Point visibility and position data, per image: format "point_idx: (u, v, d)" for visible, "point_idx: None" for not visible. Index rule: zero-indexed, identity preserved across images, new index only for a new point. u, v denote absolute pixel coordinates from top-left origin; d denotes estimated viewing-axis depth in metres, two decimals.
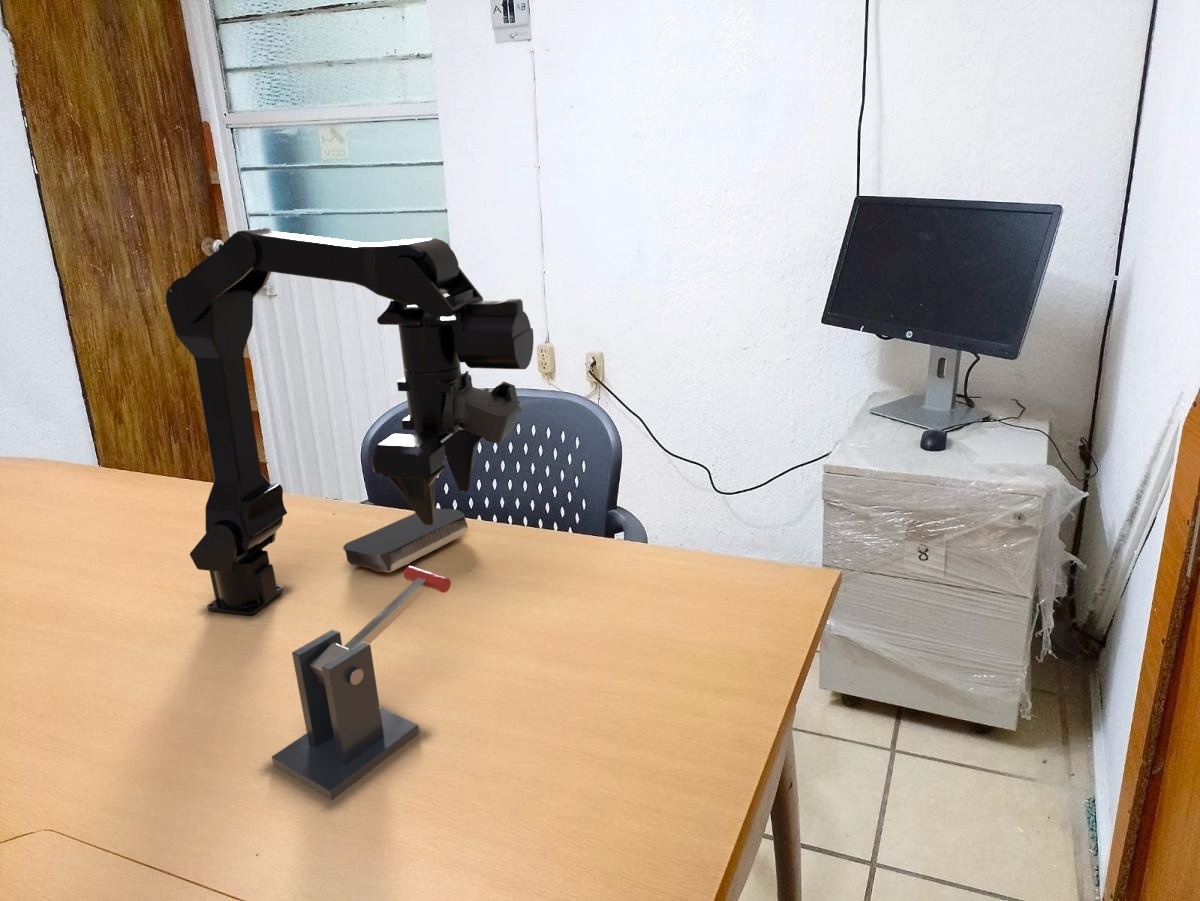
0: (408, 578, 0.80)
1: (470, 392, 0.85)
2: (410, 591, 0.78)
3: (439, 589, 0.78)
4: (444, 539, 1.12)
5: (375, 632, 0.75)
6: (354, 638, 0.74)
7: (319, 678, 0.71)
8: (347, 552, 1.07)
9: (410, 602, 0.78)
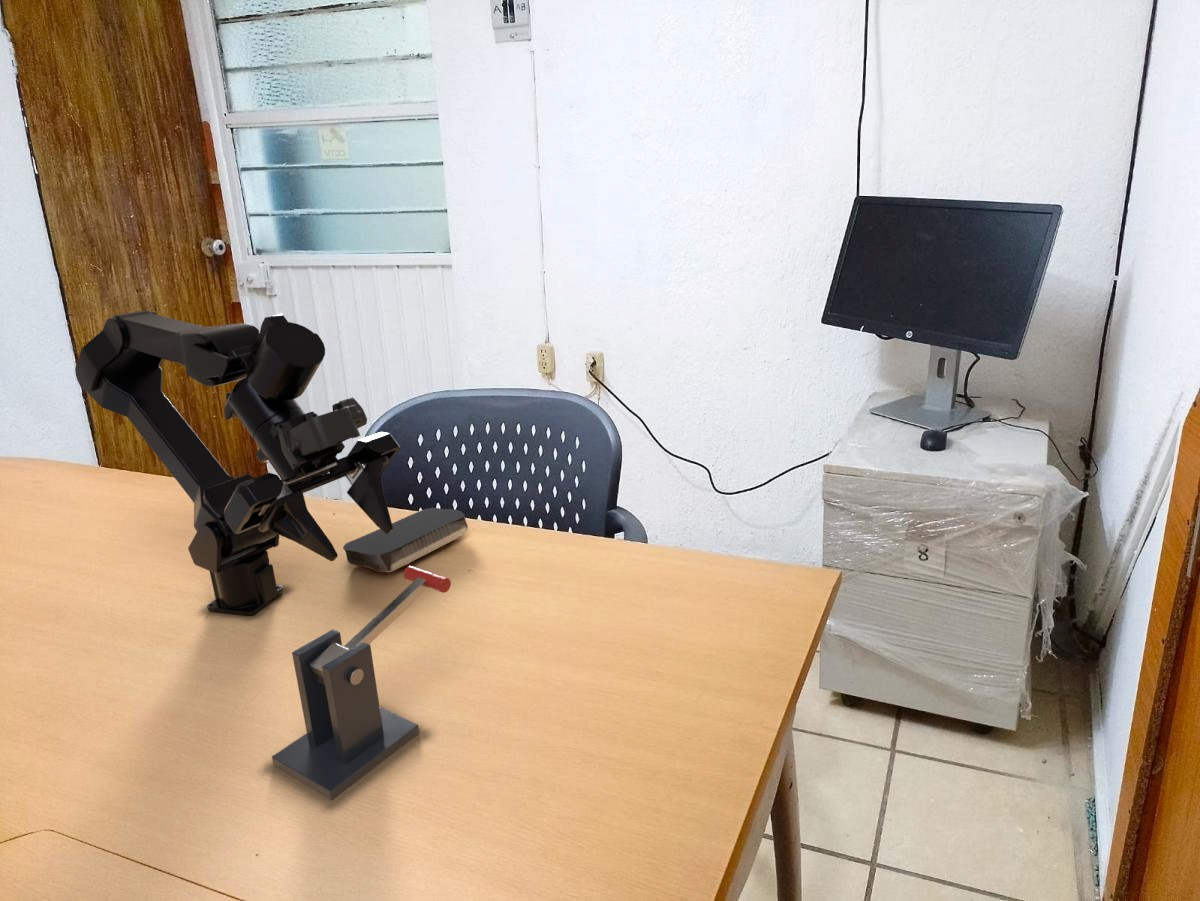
0: (408, 578, 0.80)
1: None
2: (410, 591, 0.78)
3: (439, 589, 0.78)
4: (444, 539, 1.12)
5: (375, 632, 0.75)
6: (354, 638, 0.74)
7: (319, 678, 0.71)
8: (347, 552, 1.07)
9: (410, 602, 0.78)
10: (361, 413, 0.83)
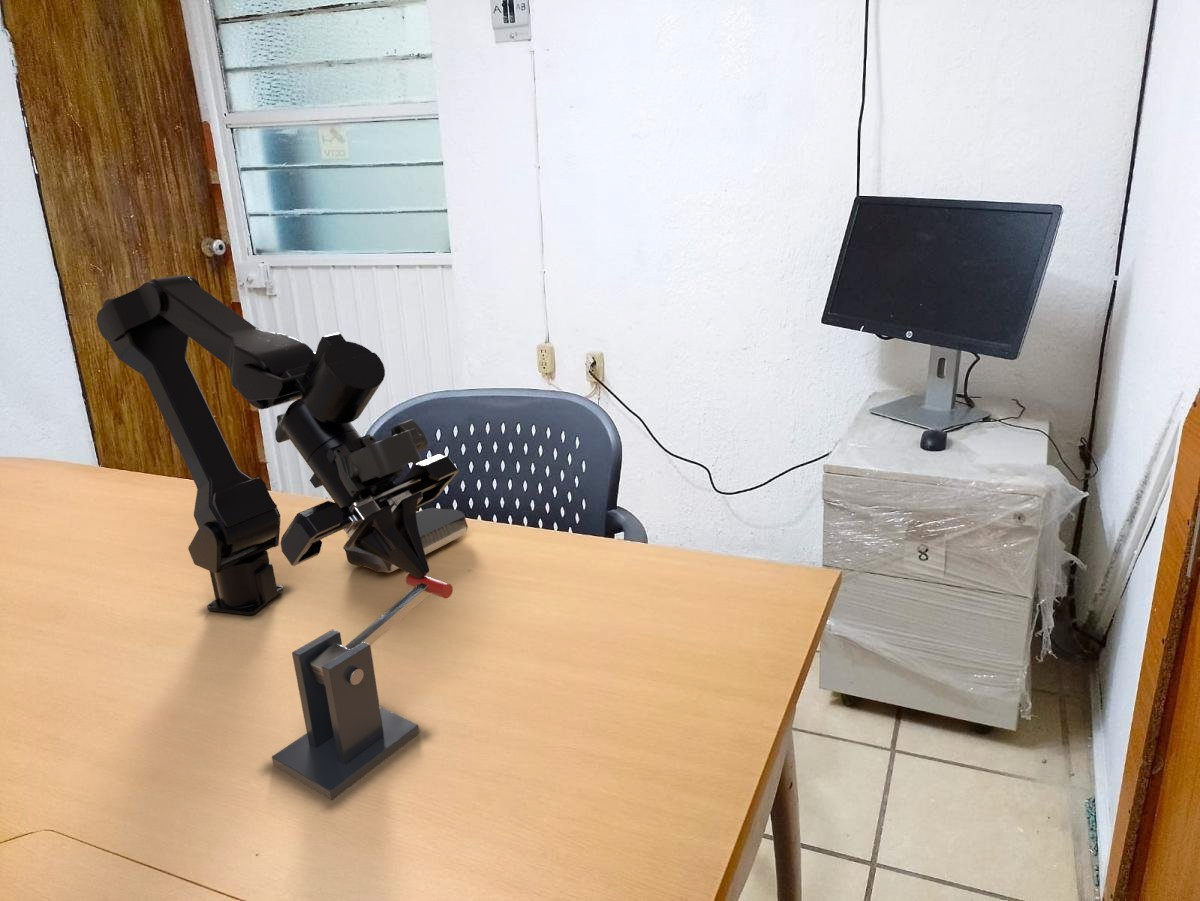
0: (410, 584, 0.81)
1: None
2: (412, 596, 0.78)
3: (441, 594, 0.78)
4: (444, 539, 1.12)
5: (376, 634, 0.75)
6: (355, 639, 0.74)
7: (318, 677, 0.71)
8: (347, 552, 1.07)
9: (411, 607, 0.78)
10: (422, 436, 0.79)
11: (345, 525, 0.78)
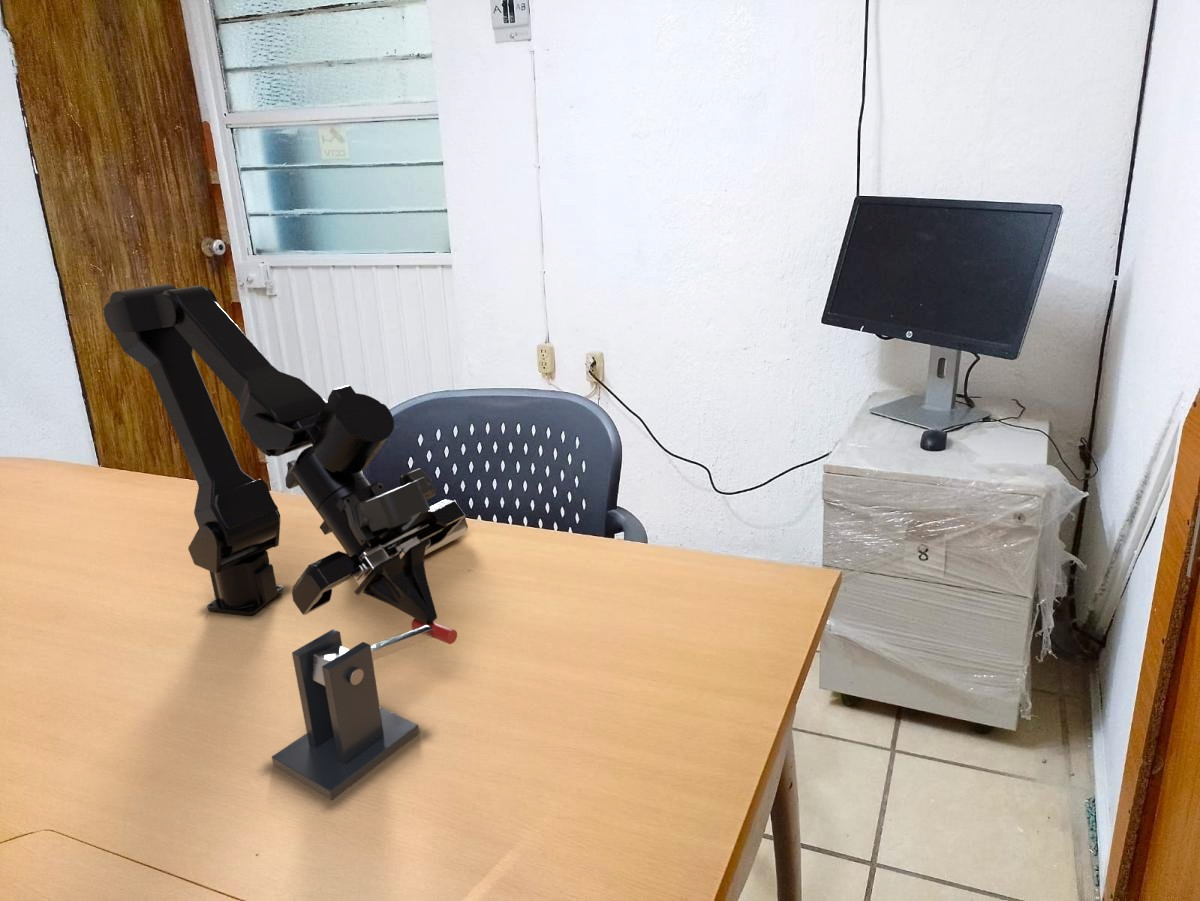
0: (415, 626, 0.82)
1: (375, 497, 0.81)
2: (418, 632, 0.80)
3: (446, 638, 0.80)
4: (444, 539, 1.12)
5: (378, 652, 0.75)
6: None
7: (316, 672, 0.71)
8: None
9: (415, 642, 0.79)
10: (430, 486, 0.80)
11: (355, 574, 0.79)
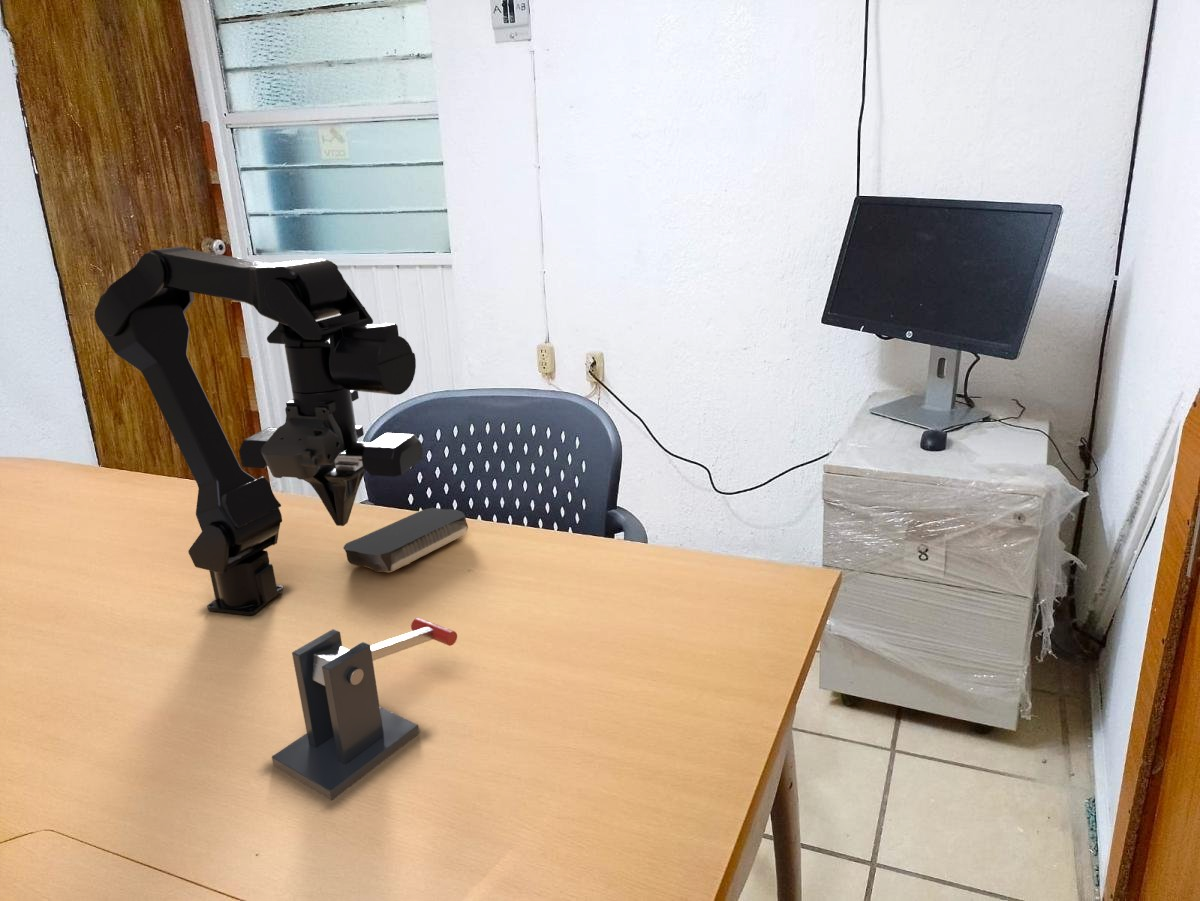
0: (415, 627, 0.82)
1: (306, 422, 0.83)
2: (418, 633, 0.80)
3: (445, 639, 0.80)
4: (444, 539, 1.12)
5: (378, 653, 0.75)
6: None
7: (316, 672, 0.71)
8: (347, 552, 1.07)
9: (415, 643, 0.79)
10: (312, 464, 0.79)
11: None
